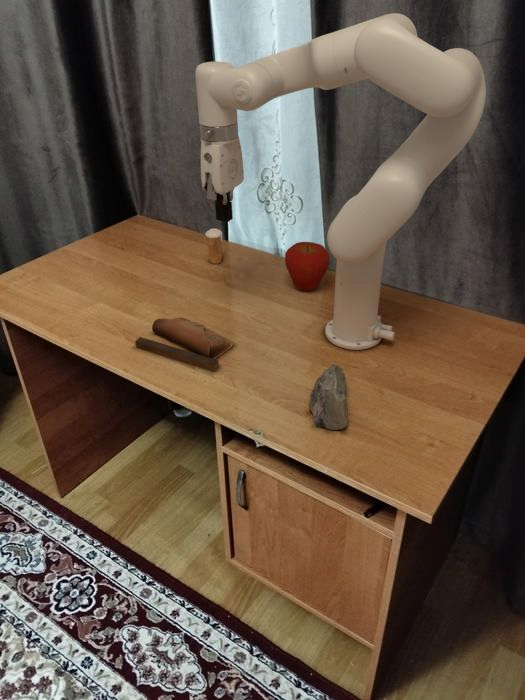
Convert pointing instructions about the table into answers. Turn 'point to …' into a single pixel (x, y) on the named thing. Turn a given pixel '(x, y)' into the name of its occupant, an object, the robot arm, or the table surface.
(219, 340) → the sunglasses case
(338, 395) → the mineral rock
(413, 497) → the table surface
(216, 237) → the beer glass
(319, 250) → the apple
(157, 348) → the rail
